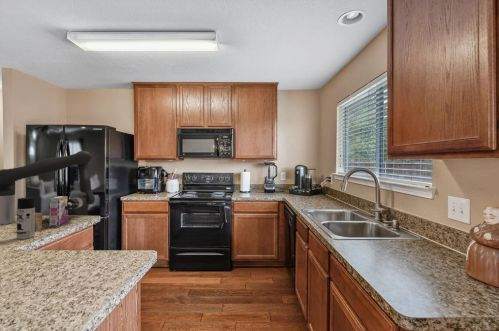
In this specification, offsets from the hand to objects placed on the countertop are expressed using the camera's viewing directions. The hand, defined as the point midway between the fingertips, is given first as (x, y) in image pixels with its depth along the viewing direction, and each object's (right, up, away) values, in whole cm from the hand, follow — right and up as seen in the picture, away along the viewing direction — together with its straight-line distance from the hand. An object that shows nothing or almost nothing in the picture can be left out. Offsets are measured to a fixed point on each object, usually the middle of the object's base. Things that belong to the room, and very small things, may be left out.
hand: (57, 208), depth 148 cm
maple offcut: (-6, -10, -9) cm, 15 cm away
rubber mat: (0, -10, 0) cm, 11 cm away
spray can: (+3, -11, -24) cm, 27 cm away
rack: (-7, -10, -3) cm, 13 cm away
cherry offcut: (-6, -6, -9) cm, 12 cm away
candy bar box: (0, -10, +1) cm, 10 cm away
